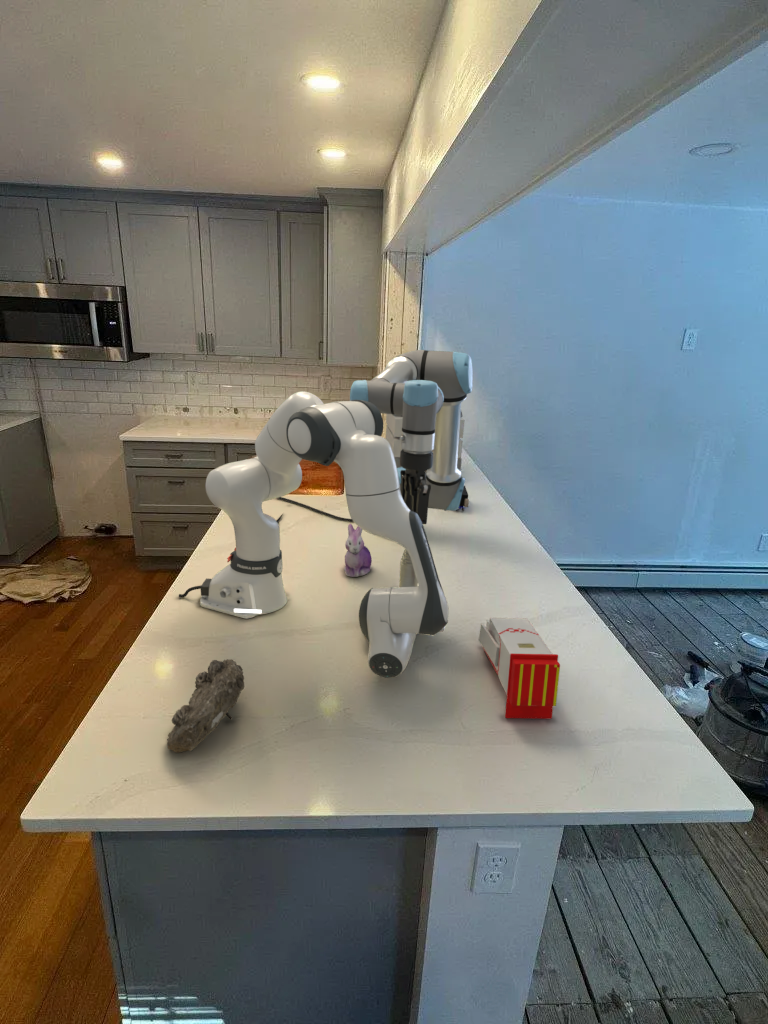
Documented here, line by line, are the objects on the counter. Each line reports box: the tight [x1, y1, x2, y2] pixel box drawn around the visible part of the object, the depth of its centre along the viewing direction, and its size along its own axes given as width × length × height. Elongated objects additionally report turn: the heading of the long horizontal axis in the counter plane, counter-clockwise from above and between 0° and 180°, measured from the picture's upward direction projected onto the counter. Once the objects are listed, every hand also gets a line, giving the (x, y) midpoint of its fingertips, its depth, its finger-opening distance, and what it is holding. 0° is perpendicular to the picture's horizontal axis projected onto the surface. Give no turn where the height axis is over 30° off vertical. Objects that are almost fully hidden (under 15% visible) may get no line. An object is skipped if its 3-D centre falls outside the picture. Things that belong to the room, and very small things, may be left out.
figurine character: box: [455, 485, 470, 512], centre depth 229 cm, size 7×8×15 cm
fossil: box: [166, 658, 245, 754], centre depth 106 cm, size 22×10×15 cm
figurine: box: [343, 523, 373, 578], centre depth 168 cm, size 9×10×15 cm
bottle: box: [398, 548, 419, 587], centre depth 140 cm, size 5×5×22 cm
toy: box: [478, 616, 561, 720], centre depth 122 cm, size 12×13×30 cm
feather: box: [276, 513, 284, 523], centre depth 210 cm, size 2×28×2 cm
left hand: (407, 598), depth 143 cm, fingers closed on bottle, 4 cm apart
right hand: (410, 544), depth 137 cm, fingers closed on cap, 4 cm apart
